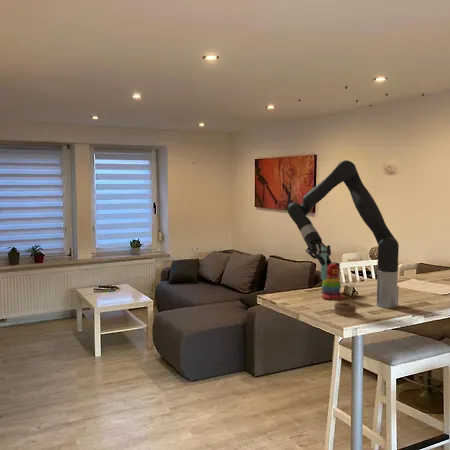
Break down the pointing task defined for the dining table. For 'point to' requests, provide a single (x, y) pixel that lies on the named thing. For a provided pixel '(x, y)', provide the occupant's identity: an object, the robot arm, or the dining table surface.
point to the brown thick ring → (345, 309)
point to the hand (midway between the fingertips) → (326, 264)
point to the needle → (324, 268)
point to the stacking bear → (332, 284)
